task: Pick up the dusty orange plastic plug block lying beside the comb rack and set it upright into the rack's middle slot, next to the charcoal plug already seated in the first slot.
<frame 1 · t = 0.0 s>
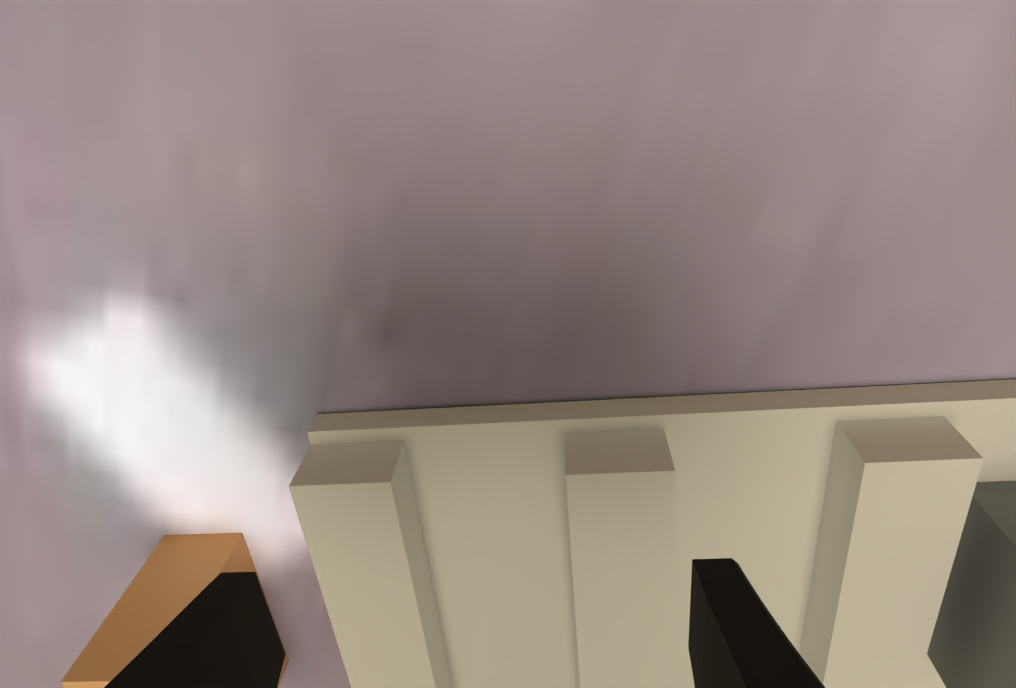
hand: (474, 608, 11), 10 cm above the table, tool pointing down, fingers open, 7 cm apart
seated plug: (986, 564, 22), resting on comb rack
orange plug: (230, 600, 26), on the table
comb rack: (729, 549, 23), on the table
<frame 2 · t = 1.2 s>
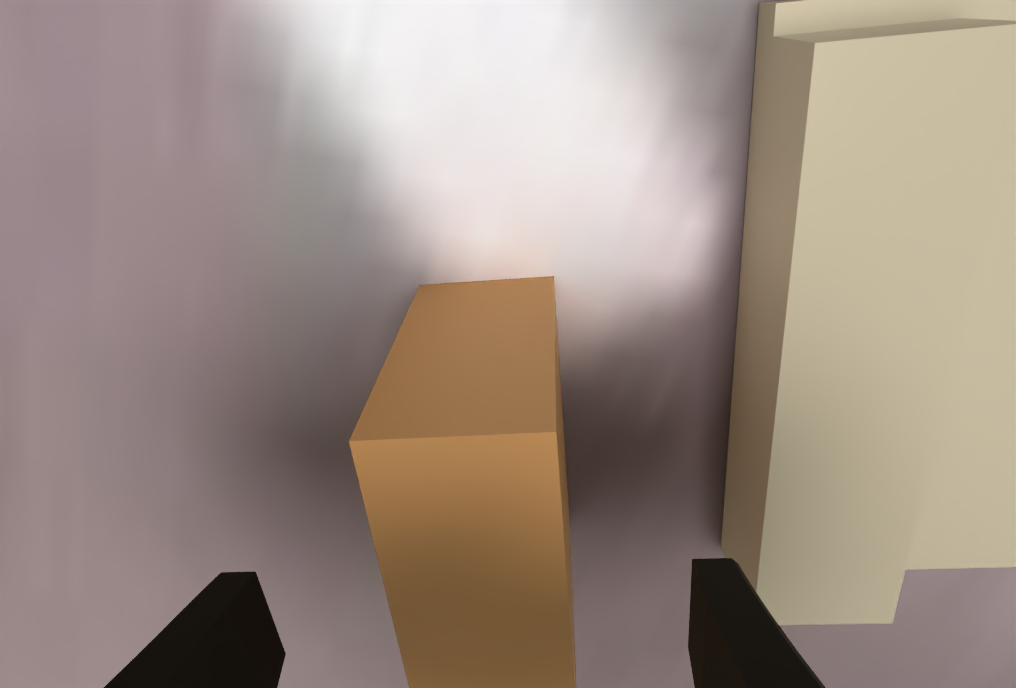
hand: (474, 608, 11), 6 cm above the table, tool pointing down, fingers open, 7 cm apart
orange plug: (501, 411, 16), on the table
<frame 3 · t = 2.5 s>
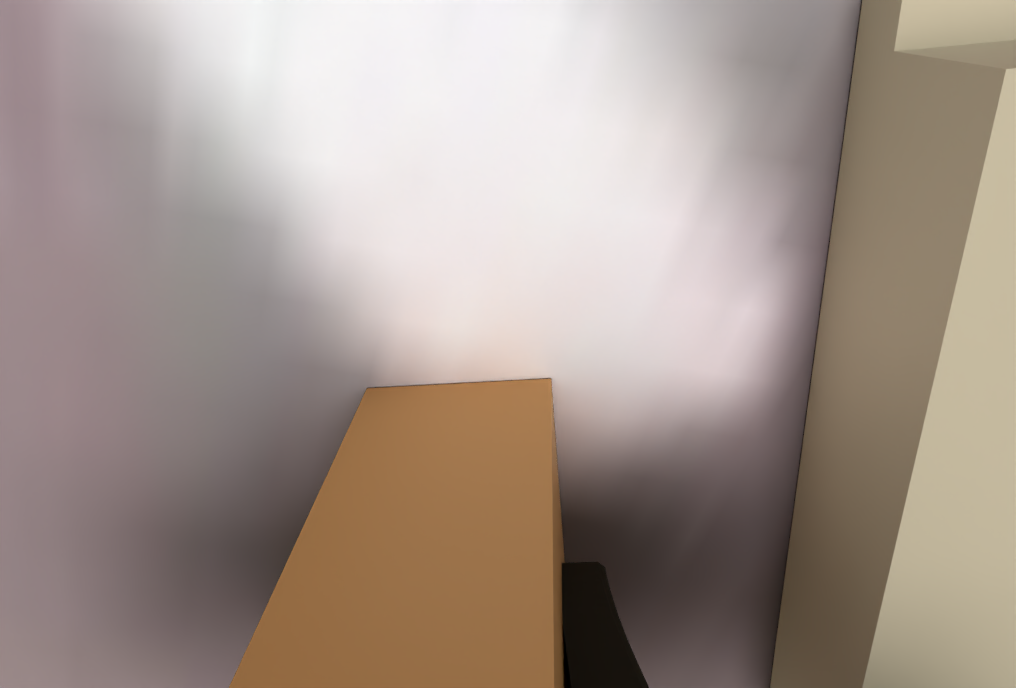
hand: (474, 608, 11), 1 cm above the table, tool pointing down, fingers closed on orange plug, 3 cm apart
orange plug: (482, 545, 12), on the table, touching gripper
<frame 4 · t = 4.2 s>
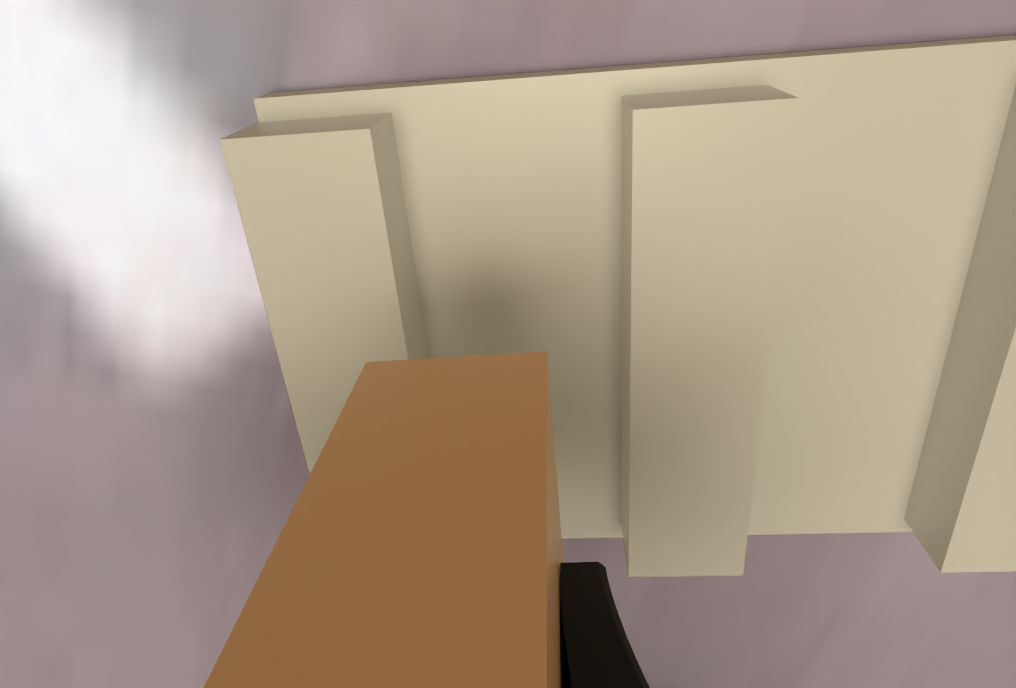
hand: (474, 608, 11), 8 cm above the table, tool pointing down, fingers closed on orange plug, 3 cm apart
orange plug: (479, 520, 12), point 7 cm above the table, touching gripper
comb rack: (830, 318, 17), on the table
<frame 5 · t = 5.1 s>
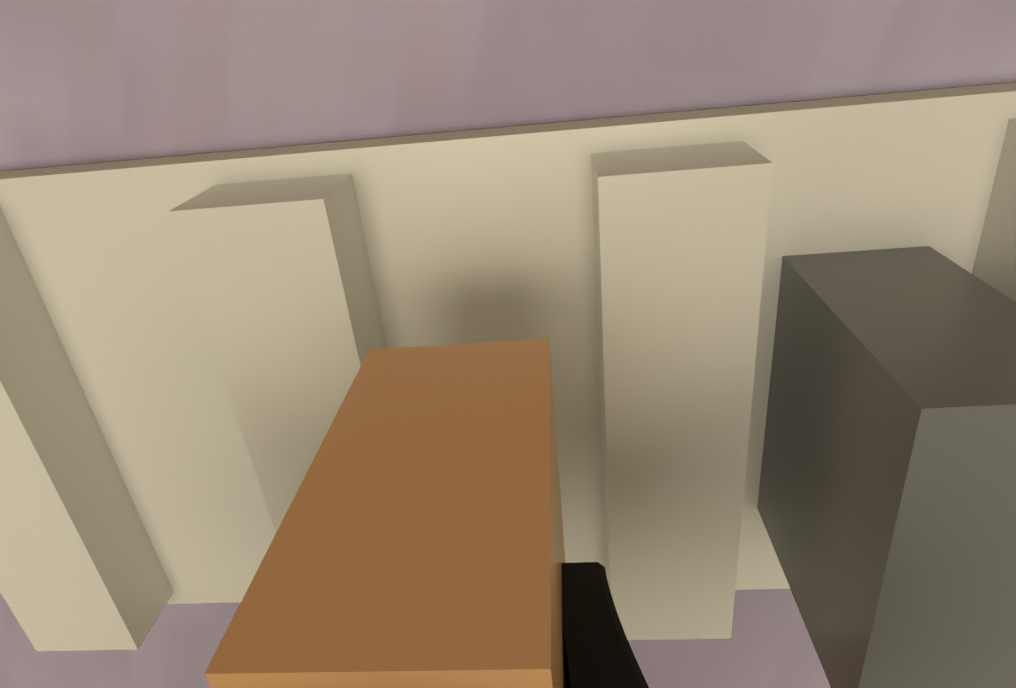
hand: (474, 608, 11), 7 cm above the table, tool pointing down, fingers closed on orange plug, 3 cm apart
seated plug: (833, 391, 16), resting on comb rack
orange plug: (481, 508, 13), point 5 cm above the table, touching gripper
comb rack: (500, 387, 17), on the table
when the fingers open (4 cm above the table, at t = 5.9 s): orange plug drops 1 cm, resting on comb rack.
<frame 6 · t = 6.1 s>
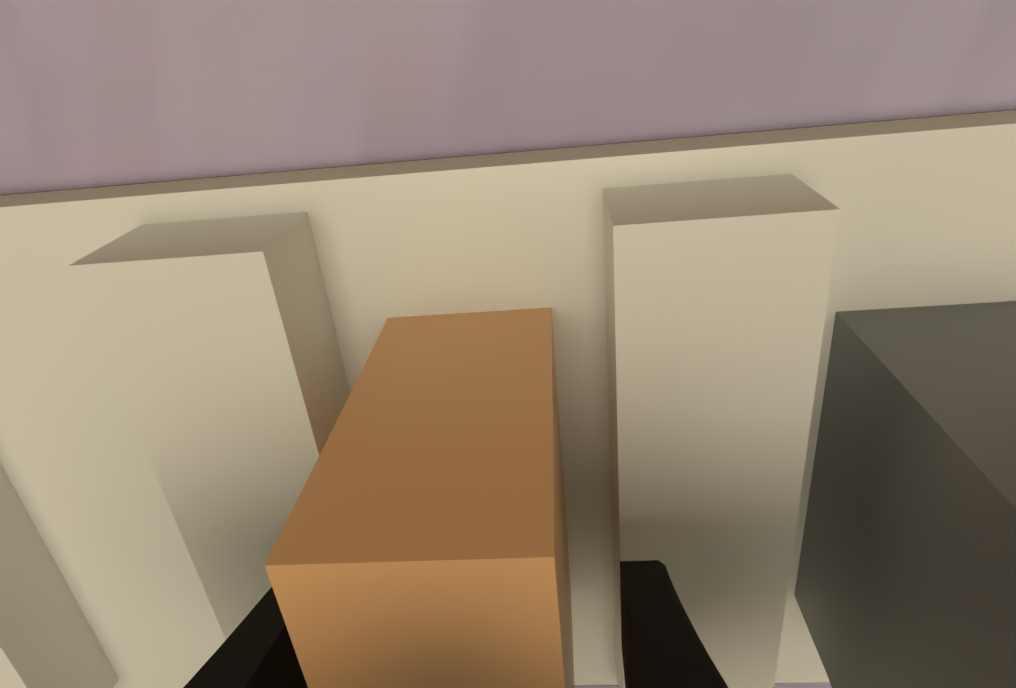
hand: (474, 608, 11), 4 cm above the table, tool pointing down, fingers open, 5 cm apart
seated plug: (891, 467, 13), resting on comb rack
orange plug: (489, 466, 14), point 1 cm above the table, touching comb rack
comb rack: (493, 454, 15), on the table
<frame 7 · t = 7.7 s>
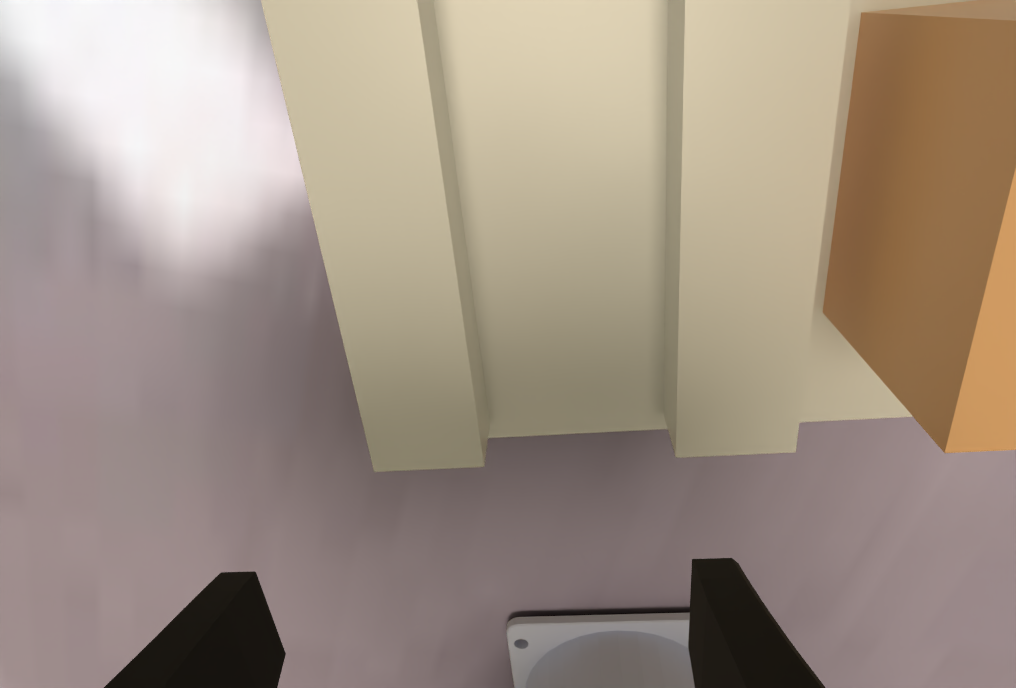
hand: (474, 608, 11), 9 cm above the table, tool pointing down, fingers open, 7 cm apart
orange plug: (906, 172, 16), point 1 cm above the table, touching comb rack
comb rack: (883, 179, 17), on the table
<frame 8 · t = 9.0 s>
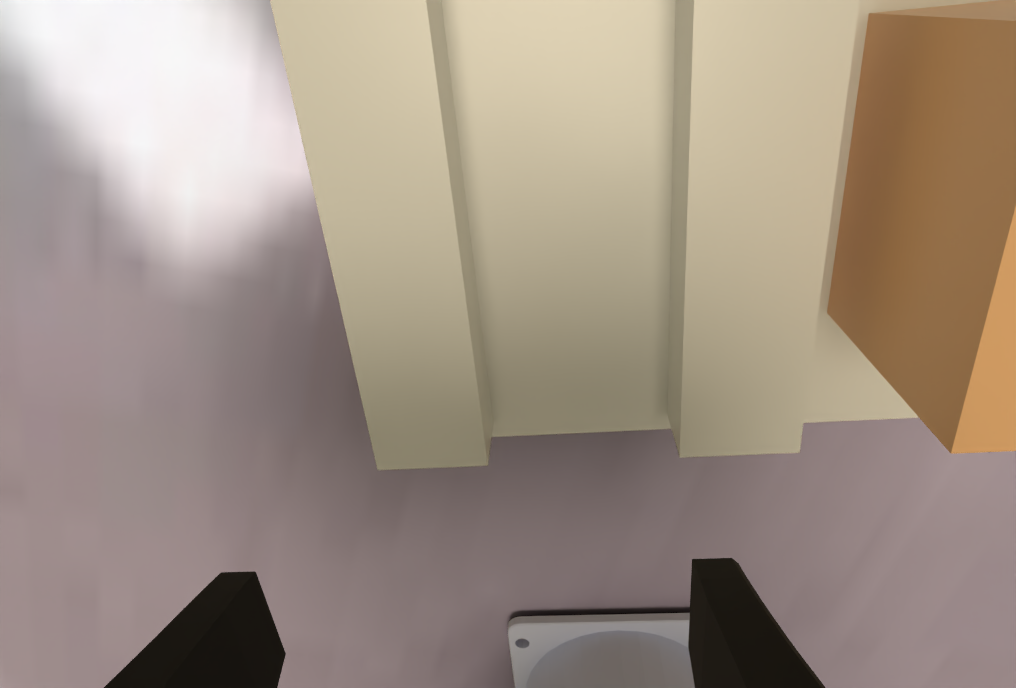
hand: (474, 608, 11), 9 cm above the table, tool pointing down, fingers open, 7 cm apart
orange plug: (912, 173, 16), point 1 cm above the table, touching comb rack
comb rack: (888, 180, 17), on the table
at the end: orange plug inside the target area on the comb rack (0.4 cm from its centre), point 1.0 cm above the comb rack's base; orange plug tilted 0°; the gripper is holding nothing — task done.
